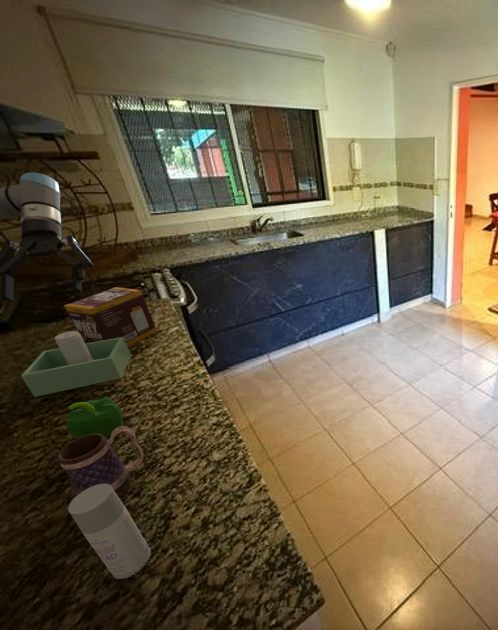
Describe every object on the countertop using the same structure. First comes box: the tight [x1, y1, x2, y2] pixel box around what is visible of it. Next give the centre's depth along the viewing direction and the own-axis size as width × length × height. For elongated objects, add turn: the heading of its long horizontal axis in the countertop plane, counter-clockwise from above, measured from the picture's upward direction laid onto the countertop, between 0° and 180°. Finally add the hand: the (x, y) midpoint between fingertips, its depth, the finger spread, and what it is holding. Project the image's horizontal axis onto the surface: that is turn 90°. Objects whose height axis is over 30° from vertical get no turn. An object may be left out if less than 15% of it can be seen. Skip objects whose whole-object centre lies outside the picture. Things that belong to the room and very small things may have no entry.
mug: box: [57, 425, 144, 499], centre depth 61 cm, size 10×7×12 cm
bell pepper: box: [66, 396, 124, 440], centre depth 73 cm, size 8×8×10 cm
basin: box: [21, 337, 132, 398], centre depth 93 cm, size 18×13×7 cm
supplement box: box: [63, 286, 158, 348], centre depth 108 cm, size 10×15×16 cm
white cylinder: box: [54, 330, 93, 365], centre depth 92 cm, size 5×5×12 cm
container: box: [67, 484, 152, 580], centre depth 49 cm, size 5×5×15 cm
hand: (43, 294), depth 89 cm, fingers open, 13 cm apart
